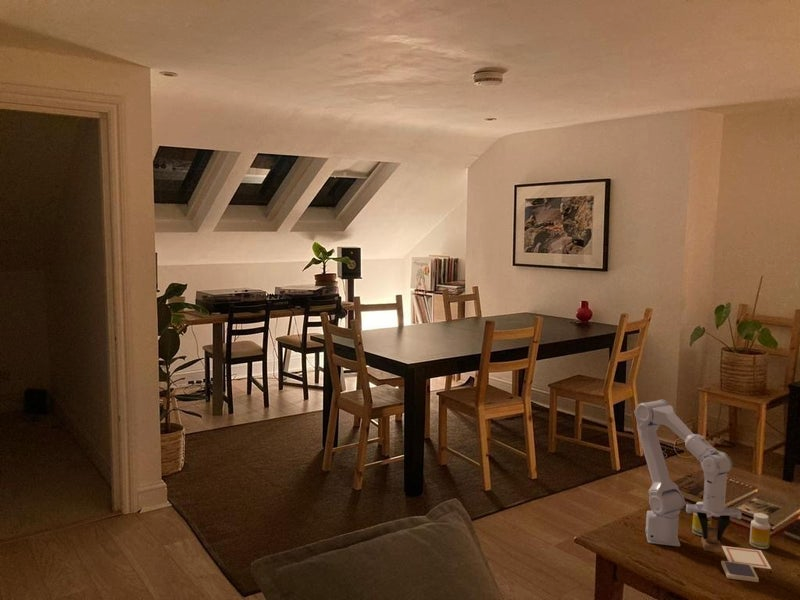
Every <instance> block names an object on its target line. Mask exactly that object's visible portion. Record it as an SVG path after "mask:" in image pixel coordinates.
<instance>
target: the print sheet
mask: <svg viewBox="0 0 800 600" xmlns="http://www.w3.org/2000/svg"><path fill="white" fill-rule="evenodd" d="M721 549H722V550H723V552H724V554H725V557H726V559H727V561H728V562H736V563H744V564H751V565H752V567H753V568H758V569H763V570H764V569H766V570H772V567H771V565H770V564H769V562H768V560H767V558H766V557H765V555H764V553H763V552H762V549H760V550H759V549H751V548H743V547H735V546H734V547H733V546H726V545H721Z"/></svg>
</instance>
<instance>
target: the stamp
mask: <svg viewBox="0 0 800 600" xmlns="http://www.w3.org/2000/svg"><path fill="white" fill-rule="evenodd" d="M701 546H702V548H703V550H704V551H707V552H716V553H721V552H722V544H721V541H718V526H717V527H716V526H714V525H711V526H707V538H706V539H704V538H703V536H701Z"/></svg>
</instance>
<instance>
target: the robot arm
mask: <svg viewBox="0 0 800 600" xmlns="http://www.w3.org/2000/svg"><path fill="white" fill-rule="evenodd" d="M633 413H634V416H635V420H636V430H637V433H638V437H639V441H640V444H641V447H642V451H643V454H644V458H645V461H646V465H647V468H648V471H649V475H650V478H651V482H652V483H651V486H650V488H649V490H648V493H647V494H648V495H649V497H648V498H649V500H648V502H649V504H648V505H649V506H650V509H651V510H647V511H646V515H645V516H646V518H645V530H644V531H645V535H646V536H645V537H646V540H647V543H648V544H654V545H662V546H663V545H665V546H672V547H681V543H680V540H679V537H678V534H679V533H678V532H679V517H680V516H679V514H680V513H681V510H682V509H683V508H684V507H685V511H686V514H693V513H697V515H698V518H699V521H700V524H701V528H702V535H703V536H702V537H703V538H704V539H706V538H707V524H708V519H707V515H706V514H708V515H712V517H717V528H718V541H719V542H721V541H722V537H723V535H724V532H725V530H726V529H727V528H728V526H729V525H730V524H731V518H734V519H738V520H741V519H742V513H743V512H742V511H741V510H740V509H736V508H730V507H726V492H727V481H728V480H727V477H728V472H730V471H731V470H732V468H733V462H732V459H731V458H730V456H729V455H728V454H727V453H726V452H723V451H720V450H717V448H715V447H714V446H713V445H711V443H709V442H708V440H706V437H705V436H703V435H701V434H698V433H693V432H692V431H691V429H690V428H689V427H688V426H687V425H686V424H685V423H684V422H683V421H682V420H681V419H680V417H679V416H678V415H677V414H676V413H675V411H674V407H673V406H672V405H670V404H669V402H668V401H666V400H665V399H657V400H652V401H647V402H639V403H638V404H637V406H636V408H635V409H634V411H633ZM661 425H665V426H666V427H667V428H669V429H670V430H671V431H672V432H673V433H675V434H676V435H677V436H678V437H679V438H680V439H682V440H683V441H684V446H685V448H686V450H687V451H689V452H690V453H691V454H692V456H694V457H695V458H696V459H697V460H698V461H699V462H700V466H701V469H702V471H703V477H704V484H703V499H702V502H703V504H696V503H695V504H687V503H685V502H686V501H685V497H684V495H683V493H682V492H681V491H680V488H679V485H678V484H676V483H675V482H674V481H672V479H671V476H670V473H669V471H668V467H667V464H666V461H665V456H664V453H663V450H662V447H661V444H660V440H659V436H658V434H657V431H658V429H659V427H660V426H661Z"/></svg>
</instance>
